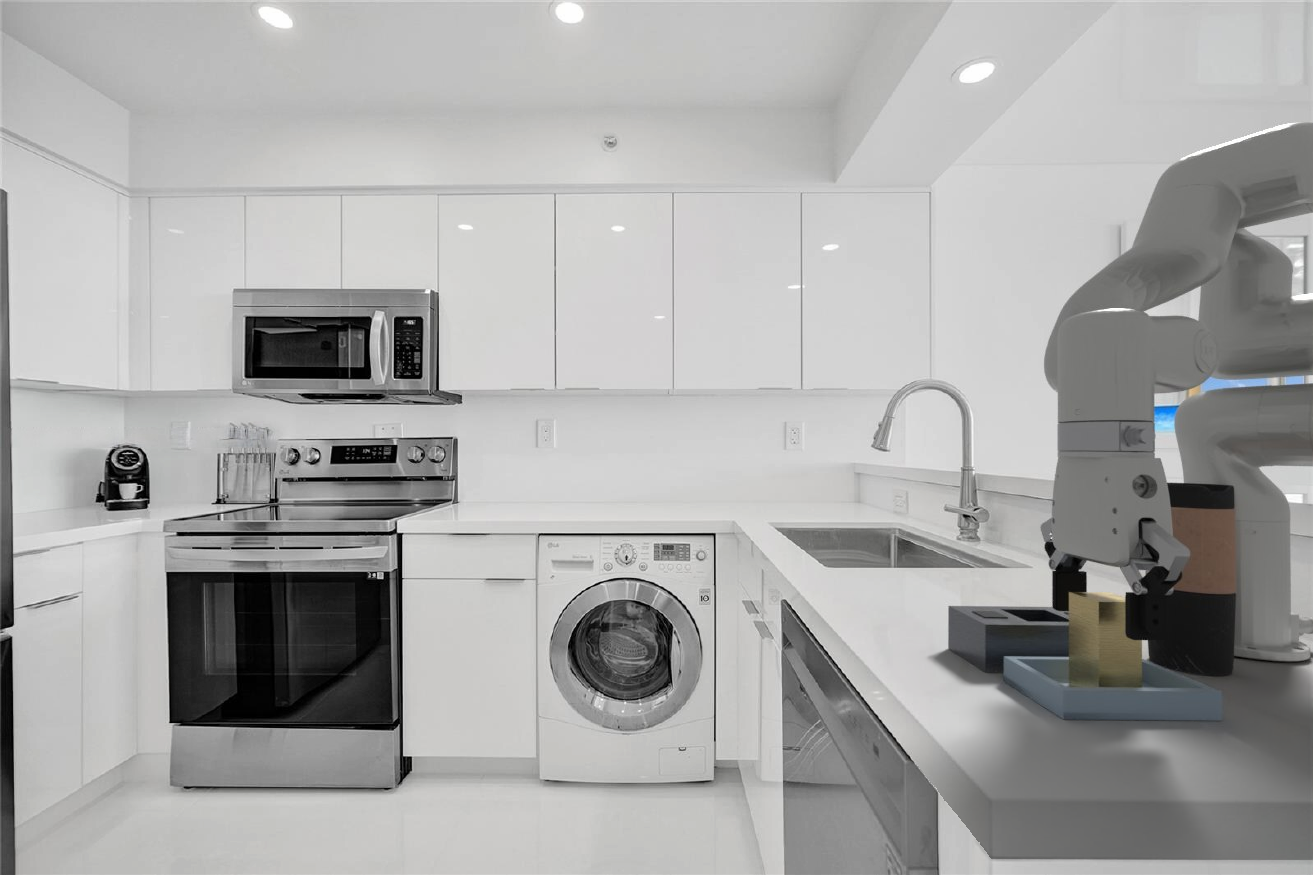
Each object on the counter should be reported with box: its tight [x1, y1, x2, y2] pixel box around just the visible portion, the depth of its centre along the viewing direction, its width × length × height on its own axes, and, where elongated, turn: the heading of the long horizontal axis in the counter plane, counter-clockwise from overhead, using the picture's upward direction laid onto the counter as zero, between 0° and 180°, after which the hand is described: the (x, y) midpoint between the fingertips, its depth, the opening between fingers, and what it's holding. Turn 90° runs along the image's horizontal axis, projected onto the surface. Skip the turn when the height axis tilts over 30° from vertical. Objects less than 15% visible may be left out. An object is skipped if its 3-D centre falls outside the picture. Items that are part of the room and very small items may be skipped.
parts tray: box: [1003, 656, 1223, 722], centre depth 59 cm, size 14×9×2 cm, turn 91°
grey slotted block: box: [947, 605, 1069, 674], centre depth 70 cm, size 16×8×5 cm, turn 91°
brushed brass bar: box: [1069, 591, 1143, 688], centre depth 59 cm, size 4×4×9 cm
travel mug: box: [1144, 482, 1236, 677], centre depth 69 cm, size 8×8×20 cm
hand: (1104, 623), depth 59 cm, fingers open, 9 cm apart
